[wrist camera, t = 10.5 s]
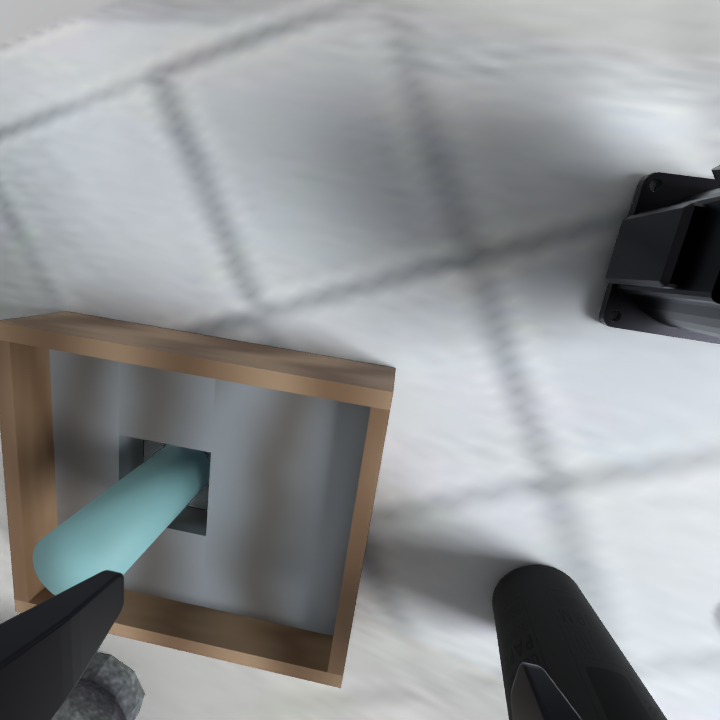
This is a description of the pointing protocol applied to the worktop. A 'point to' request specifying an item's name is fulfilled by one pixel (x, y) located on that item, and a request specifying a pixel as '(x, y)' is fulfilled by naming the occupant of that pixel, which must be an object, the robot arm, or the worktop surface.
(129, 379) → the insert box
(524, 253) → the worktop surface
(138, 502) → the peg
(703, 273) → the robot arm
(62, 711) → the mortar and pestle
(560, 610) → the drinking cup
